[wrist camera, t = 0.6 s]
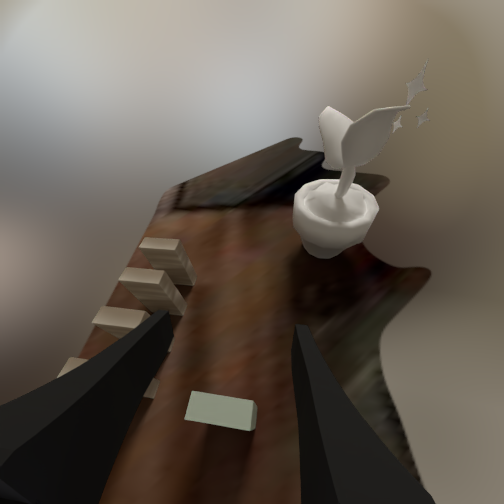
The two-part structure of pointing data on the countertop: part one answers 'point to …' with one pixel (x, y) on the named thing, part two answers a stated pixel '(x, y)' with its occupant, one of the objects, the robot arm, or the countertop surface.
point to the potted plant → (345, 178)
